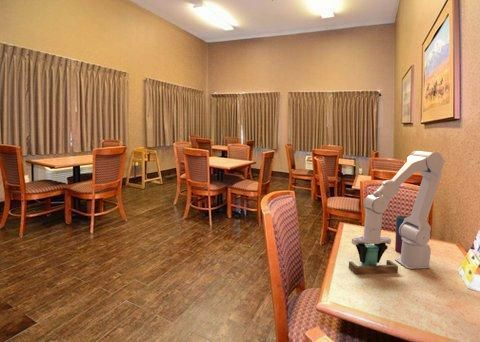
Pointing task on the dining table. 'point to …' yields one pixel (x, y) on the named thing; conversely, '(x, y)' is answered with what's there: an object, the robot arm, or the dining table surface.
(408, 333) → the dining table surface
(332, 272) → the dining table surface
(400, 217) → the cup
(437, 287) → the dining table surface
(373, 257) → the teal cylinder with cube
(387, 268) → the dock
